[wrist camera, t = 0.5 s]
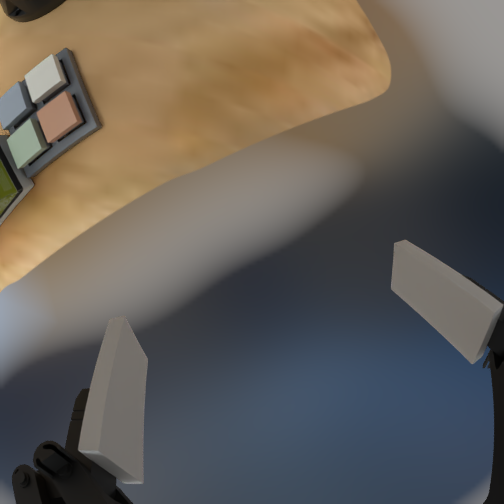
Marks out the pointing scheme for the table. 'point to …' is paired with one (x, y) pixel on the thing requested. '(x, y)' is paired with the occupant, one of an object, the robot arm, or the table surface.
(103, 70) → the table surface
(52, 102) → the rust key
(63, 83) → the ivory key
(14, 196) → the tea box
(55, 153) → the keypad board
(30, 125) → the sage key
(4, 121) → the slate key
